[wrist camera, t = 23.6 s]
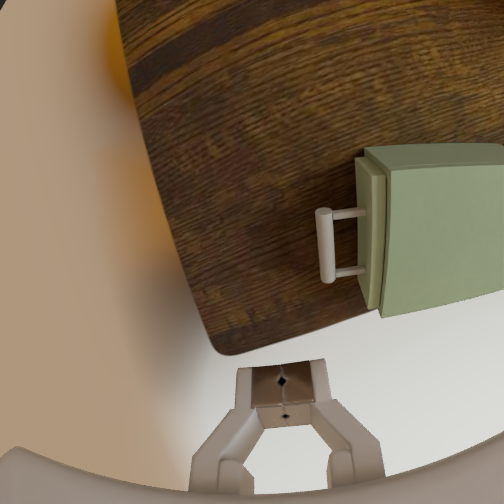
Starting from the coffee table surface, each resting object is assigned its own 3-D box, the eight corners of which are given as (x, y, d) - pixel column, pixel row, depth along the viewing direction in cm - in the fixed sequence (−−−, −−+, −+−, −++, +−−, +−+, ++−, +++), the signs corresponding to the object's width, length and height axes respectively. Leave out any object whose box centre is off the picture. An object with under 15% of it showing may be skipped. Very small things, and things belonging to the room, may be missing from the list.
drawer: (318, 284, 32) (324, 316, 28) (305, 163, 25) (313, 183, 21) (472, 258, 29) (491, 283, 25) (488, 150, 22) (517, 167, 18)
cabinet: (365, 276, 32) (381, 318, 27) (363, 147, 24) (390, 171, 19) (480, 255, 30) (506, 288, 24) (498, 143, 22) (537, 165, 16)
